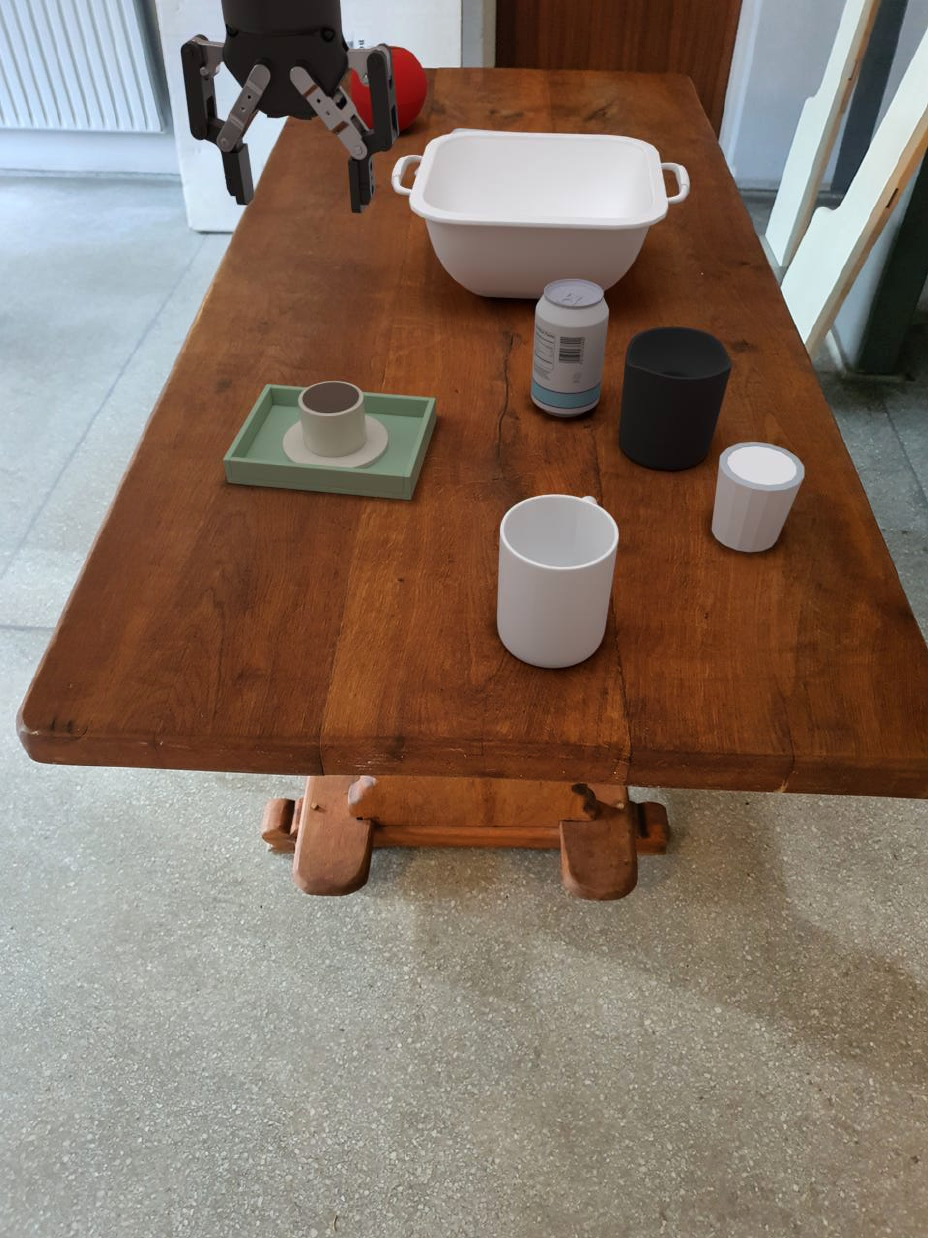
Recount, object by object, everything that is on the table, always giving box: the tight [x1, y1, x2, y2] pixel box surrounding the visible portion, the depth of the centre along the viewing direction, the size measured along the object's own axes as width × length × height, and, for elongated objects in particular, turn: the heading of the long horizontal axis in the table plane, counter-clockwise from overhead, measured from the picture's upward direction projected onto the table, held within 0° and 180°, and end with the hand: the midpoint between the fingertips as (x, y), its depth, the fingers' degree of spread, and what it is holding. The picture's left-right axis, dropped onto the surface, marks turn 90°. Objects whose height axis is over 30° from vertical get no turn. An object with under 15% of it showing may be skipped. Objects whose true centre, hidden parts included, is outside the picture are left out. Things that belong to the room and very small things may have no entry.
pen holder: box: [618, 325, 733, 471], centre depth 88 cm, size 9×9×10 cm
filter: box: [283, 380, 388, 469], centre depth 88 cm, size 10×10×5 cm
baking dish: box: [391, 131, 691, 300], centre depth 113 cm, size 34×28×13 cm
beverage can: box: [530, 279, 610, 418], centre depth 92 cm, size 7×7×12 cm
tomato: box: [349, 42, 428, 133], centre depth 152 cm, size 12×12×13 cm
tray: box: [222, 383, 437, 501], centre depth 90 cm, size 17×13×3 cm
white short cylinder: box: [711, 441, 805, 553], centre depth 79 cm, size 7×7×7 cm
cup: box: [496, 494, 620, 669], centre depth 71 cm, size 8×12×10 cm
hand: (302, 205), depth 69 cm, fingers open, 8 cm apart
